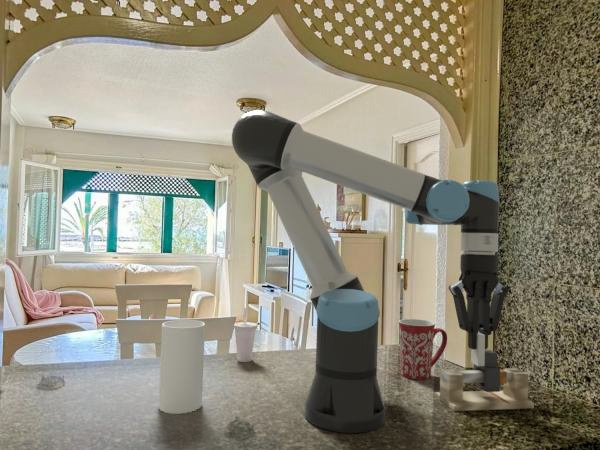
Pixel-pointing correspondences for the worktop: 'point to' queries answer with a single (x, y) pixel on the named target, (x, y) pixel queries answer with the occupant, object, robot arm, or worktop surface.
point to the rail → (507, 398)
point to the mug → (418, 347)
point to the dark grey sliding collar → (490, 373)
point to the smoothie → (245, 339)
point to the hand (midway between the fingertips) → (477, 364)
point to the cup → (181, 366)
